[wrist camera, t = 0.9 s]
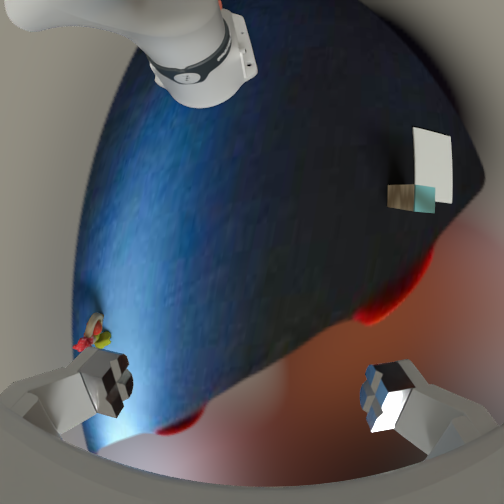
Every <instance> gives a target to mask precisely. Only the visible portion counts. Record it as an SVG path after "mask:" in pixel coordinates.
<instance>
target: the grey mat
mask: <svg viewBox="0 0 504 504" xmlns="http://www.w3.org/2000/svg"><path fill="white" fill-rule="evenodd" d="M412 129H413V144H414V185H422V186H429V187H435V201H438V202H446V203H452V152H451V137H450V136H446V135H443V134H439V133H435V132H432V131H428V130H424V129H420V128H415V127H412Z"/></svg>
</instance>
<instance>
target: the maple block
mask: <svg viewBox="0 0 504 504" xmlns="http://www.w3.org/2000/svg"><path fill="white" fill-rule="evenodd" d="M387 207H391V208H398V209H404V210H410V211H417V212H427V213H435V187H429V186H422V185H388V203H387Z"/></svg>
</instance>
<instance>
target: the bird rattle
mask: <svg viewBox="0 0 504 504" xmlns="http://www.w3.org/2000/svg"><path fill="white" fill-rule="evenodd" d="M103 318H104V315H103V314H100V313H97V312H96V313H94V314H93V315H92V316H91V317H90V319H89V321H88V323H87V327H86V331H85V333H84V338H80V339H79V341H78V344H76V345H74V346H73V348H74V349H76V350H78V351H79V352H81V351H83V350H84V349H85V347H86V348H87V347H90V346H92V344H95V346H96V348H100V349H103V348H104V346H106V345H109V344H110V343H111V341H110V337H111V334H110V333H109V332H108V331H106V332H103V333H101V331H102V323H103Z"/></svg>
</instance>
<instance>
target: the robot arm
mask: <svg viewBox="0 0 504 504" xmlns="http://www.w3.org/2000/svg"><path fill="white" fill-rule="evenodd" d="M5 10H6V13H7V15H8V17H9V18H10V20H11V21H12V22H13V23H14V24H15V25H16V26H18V27H19V28H21V29H24V30H26V31H31V32H37V31H42V30H46V29H50V28H56V27H63V26H84V27H91V28H97V29H102V30H106V31H110V32H114V33H117V34H120V35H122V36H124V37H127V38H128V39H130V40H131V41H133V42H134V43H135V44H136V45H137V46H138V47H140V48H141V49H142V50H143V51H144V52H145V53H146V56H147V58H148V60H149V62H150V67H151V69H152V70H153V71H154V73H155V74H156V76H155V82H156V83H157V84H158V85H159V86H161V87H163V88H165V89H167V90H168V91H169V93H170V94H171V95H172V97H173V98H174V99H175V100H176V101H177V102H179V103H181V104H183V105H185V106H188V107H192V108H207V107H211V106H215V105H218V104H220V103H222V102H224V101H226V100H227V99H229V98H230V97H231V96H232V95H234V94H235V93H236V91H237V90H238V89H239V88H240V86H241V85H242V84H243V83H244V82H246V81H248V80H249V79H251V78H253V77H254V76H255V75H256V74H257V73H258V69H257V65H256V61H255V58H254V54H253V50H252V46H251V42H250V39H249V35H248V31H247V28H246V24H245V21H244V18H243V17H242V16H240V15H237V14H233V13H231V12H230V11H229V10H226V9H222V3H221V0H5ZM249 64H251V66H247V65H249ZM128 365H129V362H128V359H127V356H126V355H124V354H122V353H117V352H113V351H109V350H105V349H100V348H96V347H92V346H90V347H87V348H86V349H85V350H84V351H83V352H82V353H80V354H79V355H78V356H77V357H76V358H75V359H74V360H73V361H72V362H71V363H70V364H69V365H68V366H67V367H66V368H64V367H61V368H58V369H55V370H52V371H49V372H46V373H42V374H39V375H36V376H33V377H29V378H26V379H23V380H19V381H16V382H13V383H12V384H11V385H10V386H9V387H8V388H7V389H5V390H4V391H3V392H2V393H1V394H0V504H504V423H503V424H501V425H500V426H499V425H498V424H497V423H496V422H495V420H494V419H493V418H492V416H491V415H490V414H489V413H488V411H487V410H486V409H485V408H484V406H482V405H480V404H477V403H475V402H473V401H470V400H468V399H466V398H463V397H461V396H458V395H456V394H454V393H451V392H449V391H447V390H445V389H442V388H440V387H438V386H435V385H433V384H431V385H429V384H428V383H427V382H426V380H425V379H424V378H423V376H422V375H421V374H420V372H419V371H418V370H417V368H416V367H415V366H414V365H413V363H412V362H411V361H410V360H408V359H405V360H400V361H395V362H390V363H382V364H374V365H369V366H368V368H367V370H366V373H365V375H366V377H367V380H366V381H365V382H364V384H362V387H361V391H360V403H361V407H362V409H363V410H364V411H366V412H368V415H367V418H366V419H367V422H368V424H369V427H370V429H371V432H374V431H380V430H385V429H391V428H394V430H396V431H397V432H398V433H400V434H401V435H402V436H403V437H405V438H406V439H407V440H409V441H410V442H412V443H413V444H414V445H415V446H417V447H418V448H419V449H421V450H422V451H424V452H425V453H426V454H428V456H427V458H426V459H425V461H422V462H420V463H417V464H414V465H410V466H407V467H404V468H401V469H397V470H394V471H390V472H386V473H382V474H378V475H373V476H369V477H365V478H359V479H354V480H349V481H342V482H335V483H327V484H319V485H308V486H292V487H247V486H231V485H220V484H211V483H203V482H197V481H191V480H185V479H179V478H174V477H169V476H165V475H160V474H156V473H152V472H148V471H144V470H141V469H137V468H134V467H131V466H127V465H124V464H121V463H118V462H115V461H112V460H109V459H106V458H103V457H101V456H98V455H96V454H93V453H91V452H88V451H86V450H84V449H81V448H79V447H77V446H75V445H72V444H70V443H68V442H66V441H64V440H63V439H62V438H61V436H60V434H62V433H64V432H66V431H67V430H69V429H71V428H73V427H75V426H76V425H78V424H80V423H81V422H83V421H85V420H87V419H88V418H90V417H92V416H93V415H95V414H96V413H100V414H103V415H107V416H110V417H114V418H117V417H118V415H119V414H120V412H121V410H122V409H123V407H124V404H123V401H124V400H126V399H128V398H129V397H130V395H131V394H132V390H133V377H132V374H131V373H130V372H129V371H128V369H127V367H128Z"/></svg>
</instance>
